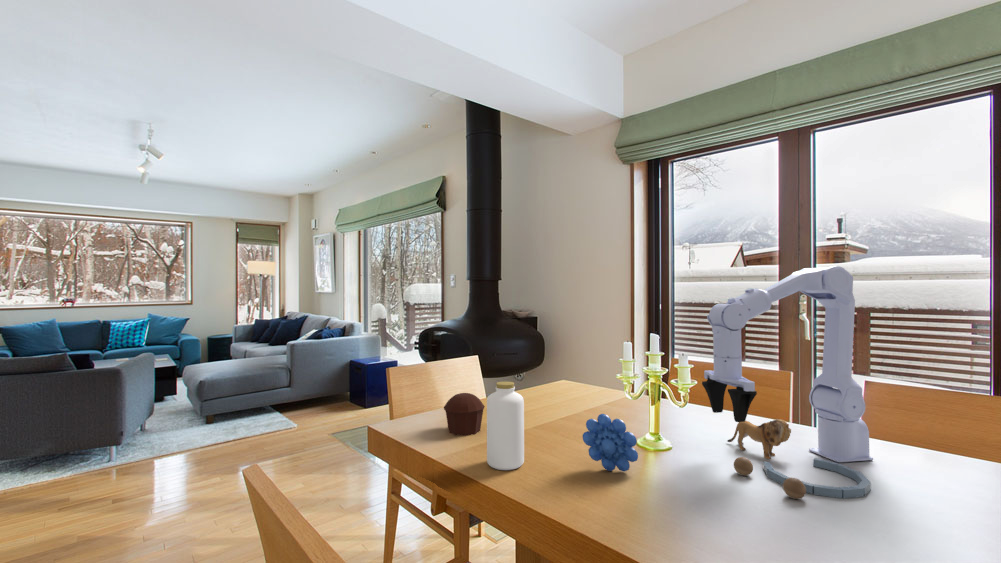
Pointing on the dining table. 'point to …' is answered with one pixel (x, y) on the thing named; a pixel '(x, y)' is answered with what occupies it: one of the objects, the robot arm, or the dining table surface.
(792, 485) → the walnut bead
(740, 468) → the walnut bead
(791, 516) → the dining table surface
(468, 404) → the muffin
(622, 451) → the blue flower
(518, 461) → the white bottle
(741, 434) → the lion figurine
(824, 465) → the groove ring
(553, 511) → the dining table surface
